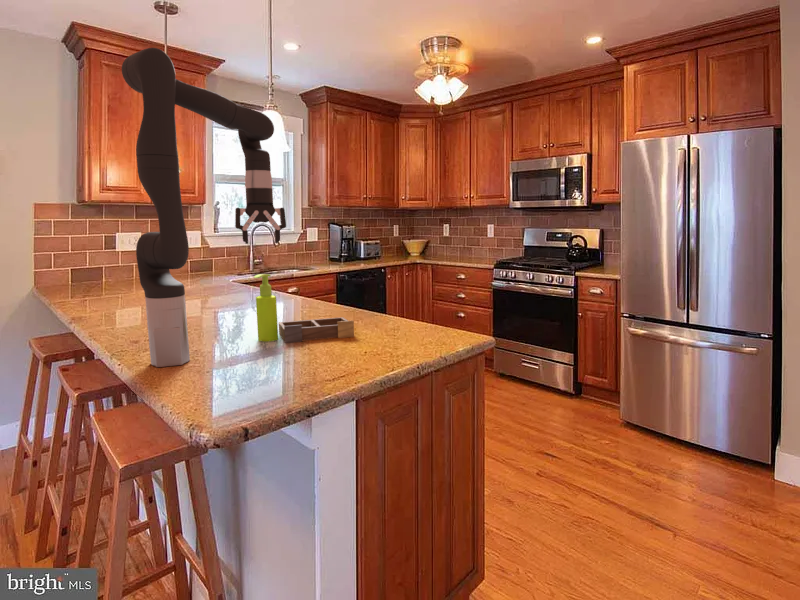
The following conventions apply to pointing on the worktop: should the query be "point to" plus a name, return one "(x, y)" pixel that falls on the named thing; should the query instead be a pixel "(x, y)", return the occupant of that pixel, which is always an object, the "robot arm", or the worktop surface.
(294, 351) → the worktop surface
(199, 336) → the worktop surface
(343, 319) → the dock
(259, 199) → the robot arm
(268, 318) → the soap dispenser
